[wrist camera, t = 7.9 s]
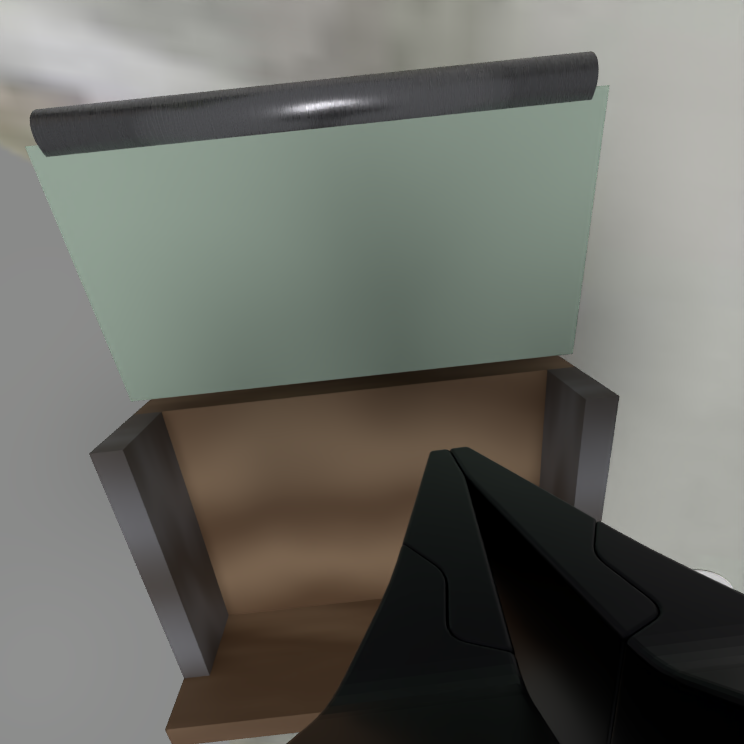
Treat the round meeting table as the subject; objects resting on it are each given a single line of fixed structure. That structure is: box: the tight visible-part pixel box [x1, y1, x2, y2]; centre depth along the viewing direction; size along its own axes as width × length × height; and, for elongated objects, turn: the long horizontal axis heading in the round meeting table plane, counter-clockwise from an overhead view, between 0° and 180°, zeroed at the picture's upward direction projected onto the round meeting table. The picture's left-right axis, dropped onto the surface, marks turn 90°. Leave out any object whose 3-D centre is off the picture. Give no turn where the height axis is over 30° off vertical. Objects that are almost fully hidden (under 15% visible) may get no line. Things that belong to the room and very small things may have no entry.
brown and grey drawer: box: [90, 355, 619, 744], centre depth 18 cm, size 14×19×7 cm
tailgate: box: [25, 51, 609, 401], centre depth 14 cm, size 2×18×10 cm
